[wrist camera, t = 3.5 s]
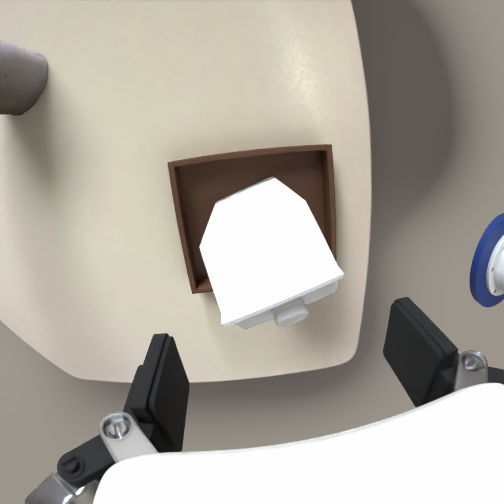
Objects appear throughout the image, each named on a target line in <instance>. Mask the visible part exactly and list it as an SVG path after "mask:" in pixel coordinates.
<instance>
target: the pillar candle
mask: <svg viewBox="0 0 504 504" xmlns="http://www.w3.org/2000/svg"><path fill="white" fill-rule="evenodd" d="M47 73H48V67H47V62H46V59H45V58H44V57H43V56H42V55H40V54H38V53H35V52H33V51H30V50H27V49H25V48H21V47H19V46H16V45H12V44H9V43H6V42H2V41H0V114H6V115H8V114H10V115H15V116H18V115H22V114H23V113H25V112H26V111H28V110H29V109H30V108H31V107H32V106H33V105H34V104H35V103H36V101H37V100H38V98H39V96H40V95H41V93H42V91H43V89H44V86H45V83H46V79H47Z"/></svg>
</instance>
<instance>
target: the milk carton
mask: <svg viewBox="0 0 504 504" xmlns="http://www.w3.org/2000/svg"><path fill="white" fill-rule="evenodd" d="M199 247H200V251H201V254H202V257H203V260H204V263H205V266H206V270H207V273H208V276H209V279H210V282H211V285H212V288H213V291H214V294H215V297H216V300H217V303H218V306H219V308H220V311H221V314H222V317H221V325H222V327H226V326H229V325H231V324H234V323H235V324H236V325H238V326H240V327H242V328H244V329H248V328H251V327H254V326H256V325H259V324H261V323H264V322H266V321H269V320H271V319H274V318H275V322H276V324H277V326H279V327H284V326H289V325H292V324H294V323H297V322H299V321H301V320H303V319H304V318H306V317H307V316H308V314H309V312H308V309H307V307H306V305H307V304H309V303H312V302H314V301H316V300H319V299H321V298H323V297H325V296H328V295H330V294H332V293H334V292H336V291H338V279H340V278H343V277H344V273H343V272H342V271H341V269H340V268H339V267H338V265H337V263H336V261H335V259H334V257H333V255H332V253H331V251H330V249H329V247H328V245H327V243H326V240H325V238H324V236H323V234H322V232H321V230H320V228H319V226H318V224H317V222H316V220H315V219H314V217H313V215H312V213H311V211H310V209H309V207H308V205H307V203H306V201H305V200H304V199H302V198H301V197H300V196H299V195H297V194H296V193H295V192H293V191H292V190H291V189H289V188H288V187H287V186H285V185H284V184H283V183H281V182H280V181H279V180H277V179H276V178H275V177H270V178H267V179H265V180H263V181H261V182H258V183H256V184H254V185H251V186H249V187H247V188H245V189H243V190H240V191H238V192H236V193H234V194H232V195H229V196H227V197H225V198H223V199H221V200H219V201H217V202H216V203H215V206H214V208H213V211H212V214H211V216H210V219H209V222H208V225H207V228H206V230H205V233H204V236H203V239H202V242H201V244H200V246H199Z"/></svg>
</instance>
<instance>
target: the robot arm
mask: <svg viewBox="0 0 504 504" xmlns="http://www.w3.org/2000/svg"><path fill="white" fill-rule="evenodd" d="M486 286H487V289H488V291H489V292H490V293H491V294H492V295H494V296H499V295H502V294H504V235H503V236H502V237H501V239H500V240H499V241H498V243H497V244H496V246H495V248H494V250H493V252H492V254H491V257H490V259H489V263H488V267H487V271H486ZM383 354H384V357H385V359H386V360H387V362H388V363H389V365H390V366H391V368H392V370H393V371H394V373H395V374H396V376H397V377H398V379H399V381H400V382H401V384H402V386H403V387H404V389H405V390H406V392H407V394H408V395H409V397H410V399H411V400H412V402H413V404H414V405H415V407H417V408H414V409H412V410H409V411H407V412H404V413H401V414H399V415H396V416H393V417H390V418H387V419H384V420H381V421H378V422H375V423H372V424H368V425H365V426H362V427H358V428H354V429H351V430H347V431H343V432H339V433H335V434H331V435H327V436H322V437H318V438H313V439H308V440H302V441H297V442H291V443H285V444H279V445H272V446H264V447H255V448H247V449H246V448H245V449H233V450H220V451H198V452H181V451H182V446H183V437H184V428H185V418H186V411H187V403H188V395H189V381H188V378H187V375H186V373H185V370H184V367H183V364H182V361H181V359H180V356H179V353H178V350H177V347H176V344H175V341H174V338H173V337H172V336H171V337H169V335H168V334H167V333H164V334H154V335H153V338H152V340H151V343H150V346H149V349H148V352H147V355H146V358H145V360H144V363H143V365H140V366H138V368H137V371H136V374H135V377H134V380H133V382H132V385H131V389H130V391H129V394H128V398H127V401H126V404H125V407H124V410H123V412H114V413H111V414H109V415H107V416H106V417H104V419H103V420H102V421H101V423H100V425H99V433H100V435H98V436H96V437H94V438H93V439H91V440H89V441H87V442H86V443H84V444H82V445H81V446H79V447H77V448H75V449H73V450H71V451H70V452H68V453H66V454H64V455H63V456H62V457H61V458H60V460H59V462H58V464H57V470H58V472H57V473H56V474H53V473H51V474H50V475H49V476H48V477H47V478H46V479H45V480H44V481H43V482H42V483H41V484H40V485H39V486H38V487H37V488H36V489H35V490H34V491H33V492H32V493H31V494H30V495H29V496H28V497H27V498H26V500H25V504H504V370H502V369H498V368H492V367H488V364H487V360H486V358H485V357H484V356H483V355H482V354H481V353H479V352H477V351H471V350H469V351H464V352H463V353H461V354H460V355H459V353H458V349H457V347H456V346H455V345H454V344H453V343H452V342H451V341H450V340H449V339H448V338H447V337H446V336H445V334H444V333H443V332H442V331H441V330H440V329H439V328H438V327H437V326H436V325H435V324H434V323H433V322H432V321H431V320H430V319H429V318H428V317H427V316H426V315H425V314H424V313H423V312H422V311H421V310H420V309H419V308H418V307H417V306H416V305H415V304H414V303H413V302H412V301H411V300H410V299H409V298H408V297H404V298H400V299H396V300H395V301H394V303H393V304H392V305H391V310H390V316H389V322H388V328H387V334H386V339H385V344H384V349H383Z"/></svg>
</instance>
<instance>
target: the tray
mask: <svg viewBox="0 0 504 504" xmlns="http://www.w3.org/2000/svg"><path fill="white" fill-rule="evenodd" d="M168 168H169V175H170V182H171V188H172V194H173V200H174V206H175V211H176V217H177V223H178V228H179V233H180V238H181V243H182V248H183V253H184V258H185V263H186V268H187V272H188V277H189V282H190V286H191V290H192V294H196V293H205V292H214V291H213V288H212V285H211V282H210V279H209V276H208V273H207V270H206V266H205V263H204V260H203V257H202V254H201V251H200V247H199V246H200V244H201V242H202V239H203V236H204V233H205V230H206V228H207V225H208V222H209V219H210V216H211V214H212V211H213V208H214V206H215V203H216V202H217V201H219V200H221V199H223V198H225V197H227V196H229V195H232V194H234V193H236V192H238V191H240V190H243V189H245V188H247V187H249V186H251V185H254V184H256V183H258V182H261V181H263V180H265V179H267V178H270V177H275V178H276V179H277V180H279V181H280V182H281V183H283V184H284V185H285V186H287V187H288V188H289V189H291V190H292V191H293V192H295V193H296V194H297V195H299V196H300V197H301V198H302V199H304V200H305V201H306V203H307V205H308V207H309V209H310V211H311V213H312V215H313V217H314V219H315V220H316V222H317V224H318V226H319V228H320V230H321V232H322V234H323V236H324V238H325V240H326V243H327V245H328V247H329V249H330V251H331V253H332V255H333V257H334V259H335V261H336V209H335V186H334V170H333V156H332V145H331V144H330V145H306V146H291V147H278V148H267V149H257V150H247V151H239V152H231V153H223V154H216V155H209V156H202V157H196V158H190V159H184V160H178V161H173V162H168Z"/></svg>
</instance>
